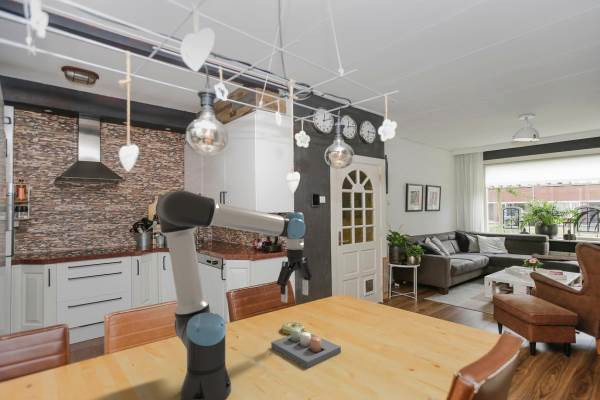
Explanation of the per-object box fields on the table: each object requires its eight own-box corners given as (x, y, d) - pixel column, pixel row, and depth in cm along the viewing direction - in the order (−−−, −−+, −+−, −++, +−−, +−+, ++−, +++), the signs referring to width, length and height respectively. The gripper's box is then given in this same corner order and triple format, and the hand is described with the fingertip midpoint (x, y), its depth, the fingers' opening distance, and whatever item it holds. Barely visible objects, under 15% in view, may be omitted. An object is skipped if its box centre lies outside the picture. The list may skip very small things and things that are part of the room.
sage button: (295, 342, 126) (295, 333, 126) (288, 339, 130) (288, 329, 130) (303, 339, 129) (303, 330, 129) (296, 336, 133) (296, 327, 133)
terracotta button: (315, 353, 117) (315, 342, 117) (307, 349, 121) (307, 338, 121) (323, 349, 120) (323, 339, 120) (315, 345, 124) (315, 335, 124)
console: (307, 370, 111) (307, 362, 111) (271, 349, 127) (271, 342, 127) (340, 354, 123) (340, 346, 123) (303, 337, 139) (303, 330, 139)
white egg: (305, 347, 122) (305, 337, 122) (297, 344, 125) (297, 334, 125) (313, 344, 125) (313, 334, 125) (305, 340, 128) (305, 331, 128)
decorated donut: (308, 330, 147) (308, 322, 147) (297, 339, 138) (297, 330, 138) (289, 326, 152) (289, 318, 152) (277, 334, 143) (277, 326, 143)
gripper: (281, 252, 121) (281, 307, 120) (319, 246, 140) (319, 293, 139) (267, 250, 125) (267, 303, 125) (306, 244, 144) (306, 290, 144)
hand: (295, 298), depth 132 cm, fingers open, 13 cm apart
